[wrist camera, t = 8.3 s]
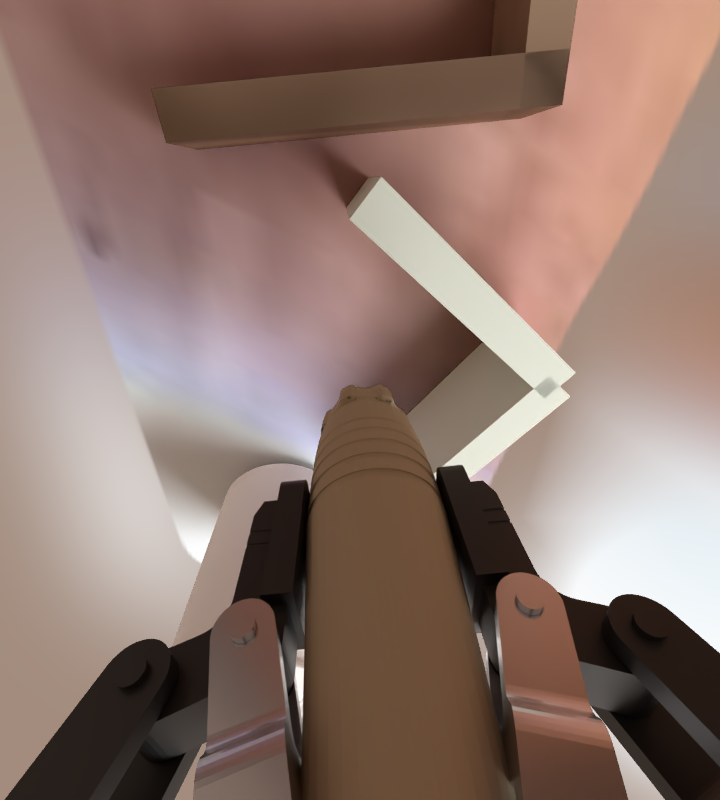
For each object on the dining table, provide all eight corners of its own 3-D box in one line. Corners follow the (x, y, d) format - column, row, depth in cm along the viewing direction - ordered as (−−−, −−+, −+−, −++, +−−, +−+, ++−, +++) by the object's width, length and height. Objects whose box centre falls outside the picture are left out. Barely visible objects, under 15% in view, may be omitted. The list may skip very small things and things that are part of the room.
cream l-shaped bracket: (343, 179, 17) (346, 180, 12) (539, 160, 17) (625, 153, 12) (369, 465, 26) (377, 537, 20) (501, 452, 26) (542, 521, 20)
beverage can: (294, 555, 30) (271, 754, 20) (204, 506, 27) (119, 711, 16) (366, 497, 27) (383, 694, 17) (275, 436, 24) (227, 629, 14)
